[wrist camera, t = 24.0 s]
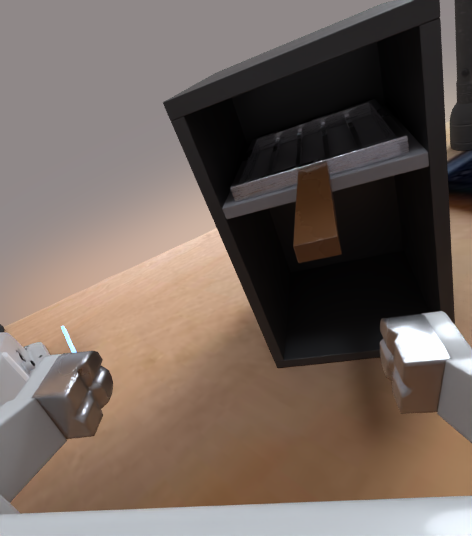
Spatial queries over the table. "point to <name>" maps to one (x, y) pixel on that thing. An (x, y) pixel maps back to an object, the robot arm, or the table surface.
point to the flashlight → (463, 79)
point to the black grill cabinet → (332, 180)
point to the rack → (318, 174)
